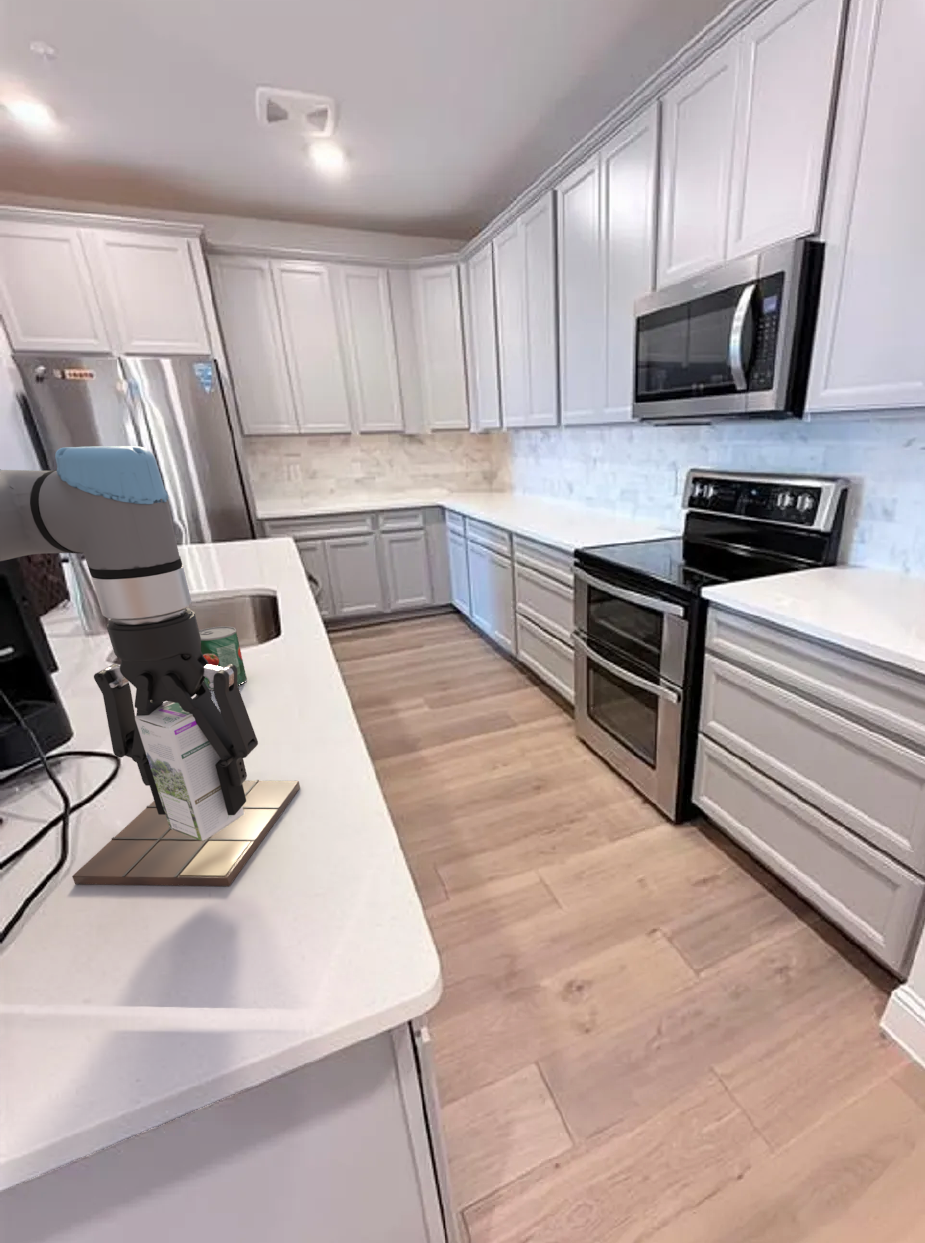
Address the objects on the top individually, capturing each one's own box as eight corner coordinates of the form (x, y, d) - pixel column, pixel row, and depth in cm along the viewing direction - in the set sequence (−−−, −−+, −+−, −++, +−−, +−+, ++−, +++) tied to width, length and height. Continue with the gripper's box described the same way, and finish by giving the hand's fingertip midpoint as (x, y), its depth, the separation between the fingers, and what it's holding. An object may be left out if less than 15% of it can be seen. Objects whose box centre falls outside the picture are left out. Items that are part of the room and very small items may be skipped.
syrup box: (246, 814, 69) (219, 702, 63) (201, 844, 64) (167, 725, 58) (212, 802, 71) (184, 693, 66) (166, 830, 66) (131, 715, 61)
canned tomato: (255, 676, 124) (244, 626, 120) (231, 691, 117) (219, 639, 113) (220, 674, 126) (209, 625, 121) (195, 689, 118) (182, 637, 114)
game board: (74, 884, 67) (71, 875, 67) (178, 786, 86) (176, 779, 85) (229, 886, 67) (227, 877, 66) (300, 787, 85) (298, 780, 85)
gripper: (267, 602, 61) (303, 789, 70) (79, 603, 62) (138, 788, 71) (231, 624, 54) (275, 829, 63) (19, 625, 55) (92, 827, 64)
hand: (203, 807), depth 67 cm, fingers closed on syrup box, 7 cm apart
